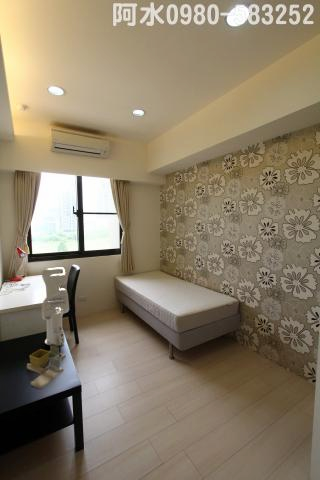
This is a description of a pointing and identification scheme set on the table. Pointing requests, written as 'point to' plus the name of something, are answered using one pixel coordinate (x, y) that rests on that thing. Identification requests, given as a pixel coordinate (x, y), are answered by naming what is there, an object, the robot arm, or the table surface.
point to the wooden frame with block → (53, 352)
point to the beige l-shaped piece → (49, 372)
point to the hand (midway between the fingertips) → (56, 352)
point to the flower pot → (39, 358)
